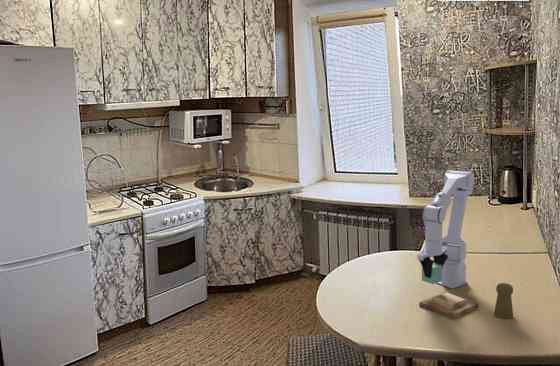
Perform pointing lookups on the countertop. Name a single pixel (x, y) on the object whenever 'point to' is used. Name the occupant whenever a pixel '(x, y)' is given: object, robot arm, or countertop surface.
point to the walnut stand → (448, 305)
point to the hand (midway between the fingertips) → (432, 275)
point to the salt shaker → (504, 301)
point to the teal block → (433, 274)
